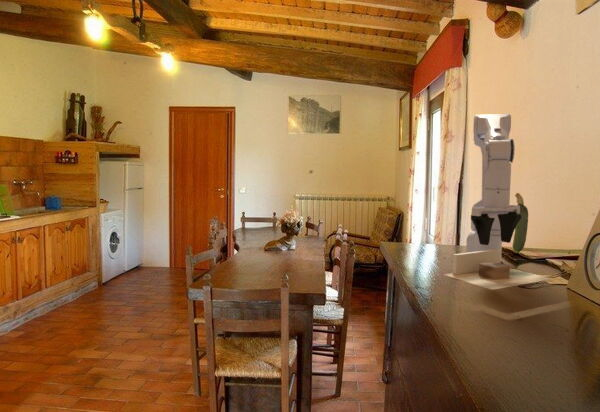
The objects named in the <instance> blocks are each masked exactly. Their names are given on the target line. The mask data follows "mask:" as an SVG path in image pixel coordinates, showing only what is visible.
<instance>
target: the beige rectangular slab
mask: <svg viewBox="0 0 600 412" xmlns="http://www.w3.org/2000/svg"><path fill="white" fill-rule="evenodd" d="M500 256H501V257H502V252H501V250H500V249H492V250H484V251H476V252H468V253H466V252H461V253H453V254H452V273H453V274H462V273H469V272H475V271H479V264H480V263H487V262H497V263H501V262H500Z"/></svg>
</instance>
